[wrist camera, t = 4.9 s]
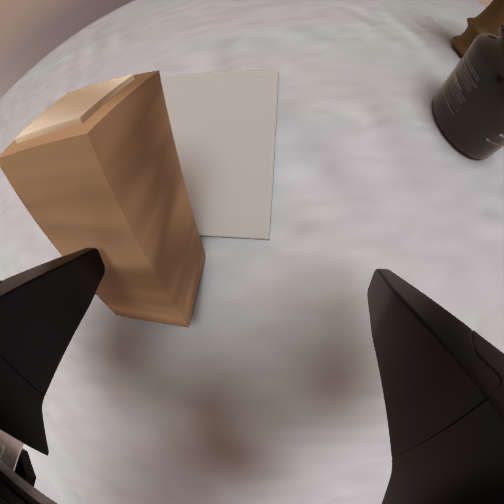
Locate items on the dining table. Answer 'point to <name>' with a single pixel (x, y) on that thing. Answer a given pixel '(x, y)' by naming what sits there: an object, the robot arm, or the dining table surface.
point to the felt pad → (226, 148)
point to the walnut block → (114, 194)
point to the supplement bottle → (475, 98)
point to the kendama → (481, 26)
